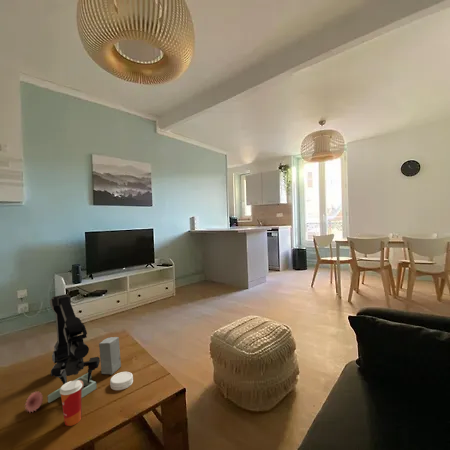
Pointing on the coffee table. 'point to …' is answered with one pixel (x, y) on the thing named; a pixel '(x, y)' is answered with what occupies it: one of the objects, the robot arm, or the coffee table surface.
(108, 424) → the coffee table surface
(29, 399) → the flower
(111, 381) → the coaster
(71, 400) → the paper cup
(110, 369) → the skincare box
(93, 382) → the sage green shelf frame
